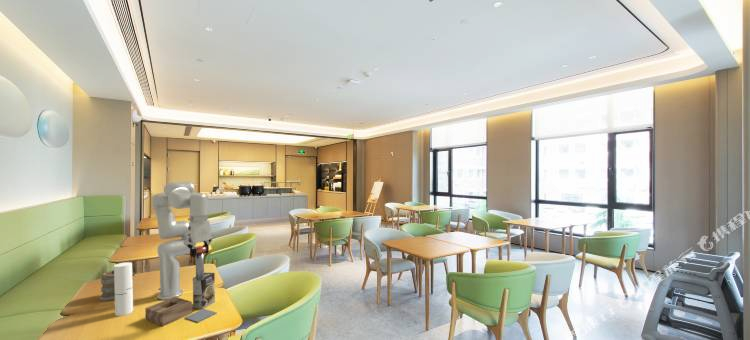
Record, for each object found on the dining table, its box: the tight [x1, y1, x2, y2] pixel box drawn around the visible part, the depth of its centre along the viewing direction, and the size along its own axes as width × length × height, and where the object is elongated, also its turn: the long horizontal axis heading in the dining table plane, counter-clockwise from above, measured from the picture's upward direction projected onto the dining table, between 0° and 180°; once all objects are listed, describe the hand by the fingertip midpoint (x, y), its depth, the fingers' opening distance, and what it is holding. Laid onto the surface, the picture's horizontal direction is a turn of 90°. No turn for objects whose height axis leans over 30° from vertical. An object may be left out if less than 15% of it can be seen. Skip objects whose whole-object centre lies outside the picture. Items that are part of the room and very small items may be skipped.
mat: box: [184, 308, 218, 323], centre depth 153 cm, size 10×10×1 cm
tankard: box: [99, 269, 136, 302], centre depth 178 cm, size 20×13×15 cm, turn 76°
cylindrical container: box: [113, 261, 134, 317], centre depth 157 cm, size 7×7×25 cm
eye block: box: [144, 297, 193, 327], centre depth 153 cm, size 14×14×6 cm
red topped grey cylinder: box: [194, 245, 206, 281], centre depth 153 cm, size 6×6×16 cm
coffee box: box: [192, 272, 216, 310], centre depth 165 cm, size 9×6×16 cm
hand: (199, 254), depth 153 cm, fingers closed on red topped grey cylinder, 6 cm apart
